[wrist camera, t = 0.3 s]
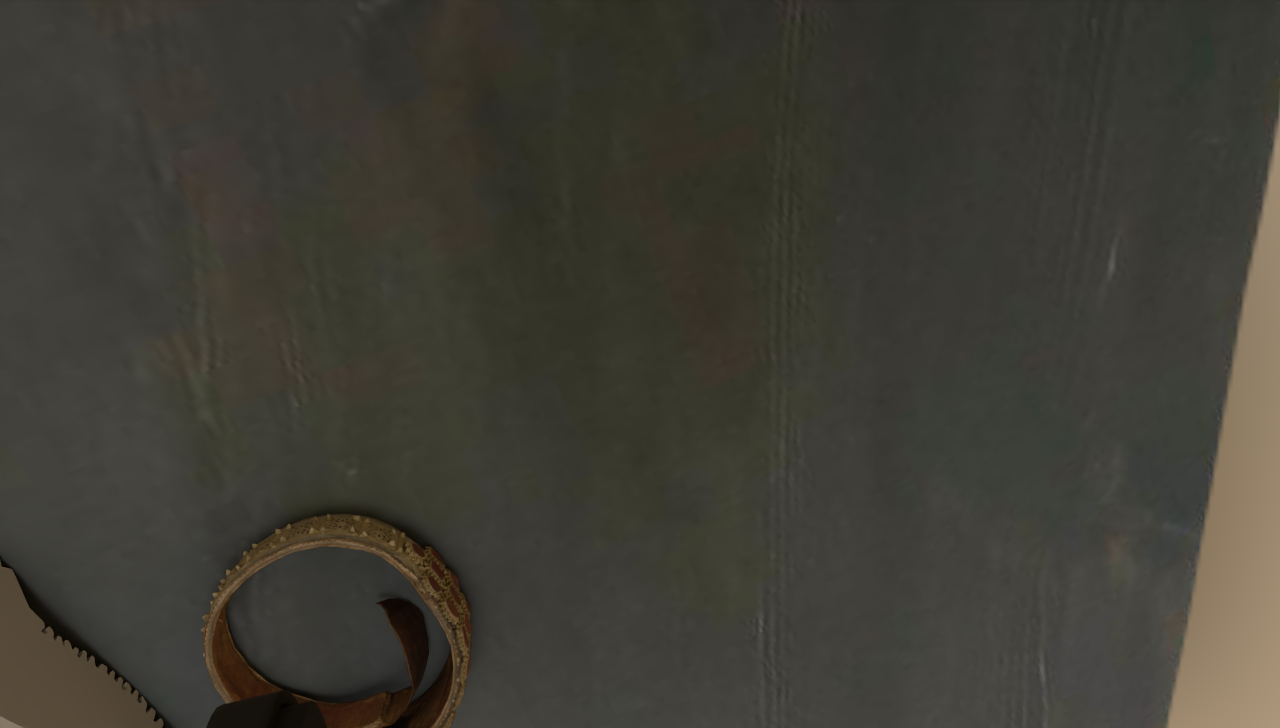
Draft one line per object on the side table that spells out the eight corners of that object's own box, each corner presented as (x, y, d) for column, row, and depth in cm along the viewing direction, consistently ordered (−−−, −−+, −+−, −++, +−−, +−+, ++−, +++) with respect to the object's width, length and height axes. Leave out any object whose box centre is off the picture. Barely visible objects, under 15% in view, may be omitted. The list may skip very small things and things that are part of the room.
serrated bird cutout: (-6, 547, 31) (204, 757, 34) (-41, 570, 31) (172, 777, 34) (-118, 653, 25) (144, 890, 29) (-160, 680, 26) (107, 913, 29)
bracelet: (379, 768, 35) (368, 830, 32) (159, 652, 33) (127, 708, 30) (526, 594, 34) (528, 644, 31) (308, 458, 31) (289, 499, 28)
